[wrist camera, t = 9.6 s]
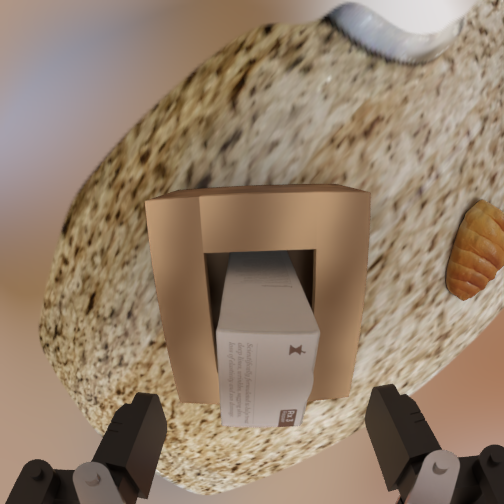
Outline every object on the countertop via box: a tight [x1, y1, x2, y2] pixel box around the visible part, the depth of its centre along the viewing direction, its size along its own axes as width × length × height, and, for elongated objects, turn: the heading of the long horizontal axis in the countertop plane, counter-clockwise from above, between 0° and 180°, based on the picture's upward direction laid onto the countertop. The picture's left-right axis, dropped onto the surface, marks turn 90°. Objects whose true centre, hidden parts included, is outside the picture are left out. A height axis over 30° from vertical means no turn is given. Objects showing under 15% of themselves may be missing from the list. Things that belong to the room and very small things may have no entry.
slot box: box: [145, 184, 371, 404], centre depth 20 cm, size 12×14×7 cm
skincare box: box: [216, 250, 320, 427], centre depth 18 cm, size 6×4×12 cm
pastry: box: [446, 200, 504, 301], centre depth 21 cm, size 9×7×4 cm
